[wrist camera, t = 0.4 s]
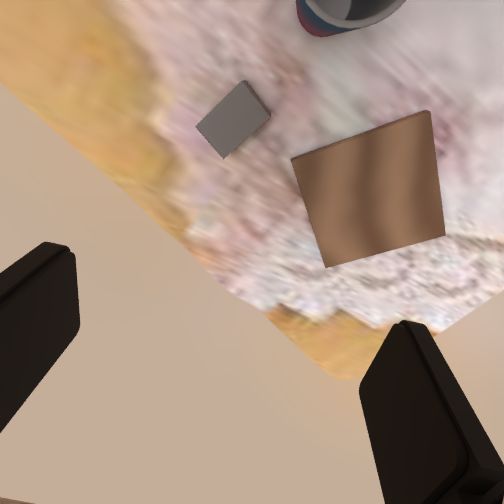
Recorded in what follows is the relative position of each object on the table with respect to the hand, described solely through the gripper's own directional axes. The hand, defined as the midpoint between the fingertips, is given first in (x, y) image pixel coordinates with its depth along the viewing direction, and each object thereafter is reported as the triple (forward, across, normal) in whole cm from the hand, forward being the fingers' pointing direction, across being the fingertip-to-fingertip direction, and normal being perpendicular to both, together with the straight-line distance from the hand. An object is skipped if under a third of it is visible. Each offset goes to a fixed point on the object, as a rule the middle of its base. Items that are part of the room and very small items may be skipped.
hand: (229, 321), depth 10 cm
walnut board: (+29, -13, +4) cm, 32 cm away
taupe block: (+29, +4, -1) cm, 30 cm away
